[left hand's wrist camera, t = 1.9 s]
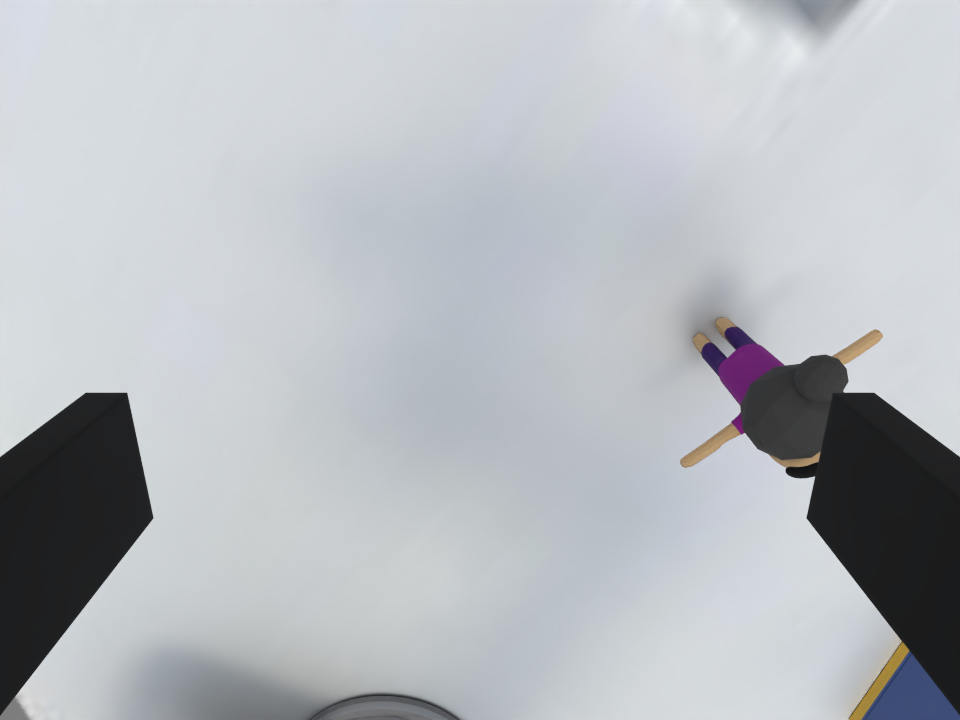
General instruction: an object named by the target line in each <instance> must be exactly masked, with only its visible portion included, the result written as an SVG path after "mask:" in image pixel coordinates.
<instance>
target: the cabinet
mask: <svg viewBox="0 0 960 720" xmlns="http://www.w3.org/2000/svg"><path fill="white" fill-rule="evenodd" d="M849 720H960V715H959V714H958V713H957V711H956V710H955V709H954V707H953V706H952V705H951V704H950V702H949V701H948V700H947V698H946V697H945V696H944V695H943V693H942V692H941V691H940V689H939V688H938V687H937V686H936V684H935V683H934V682H933V680H932V679H931V678H930V677H929V675H928V674H927V673H926V671H925V670H924V669H923V667H922V666H921V665H920V664H919V662H918V661H917V660H916V658H915V657H914V656H913V655H912V653H911V652H910V651H909V649H908V648H907V647H906V646H905V644H904V643H903V642H902V643H901V645H900V646H899V648H898V649H897V650H896V652H895V653H894V655H893V656H892V658H891V659H890V661H889V662H888V663H887V665H886V666H885V668H884V669H883V671H882V672H881V674H880V675H879V677H878V678H877V679H876V681H875V682H874V684H873V685H872V687H871V688H870V690H869V691H868V692H867V694H866V695H865V697H864V698H863V700H862V701H861V703H860V704H859V705H858V707H857V708H856V710H855V711H854V713H853V714H852V716H851V717H850V718H849Z"/></svg>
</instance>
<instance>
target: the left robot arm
mask: <svg viewBox="0 0 960 720" xmlns="http://www.w3.org/2000/svg"><path fill="white" fill-rule="evenodd" d="M152 519H153V514H152V509H151V504H150V500H149V495H148V490H147V485H146V481H145V476H144V471H143V466H142V461H141V457H140V452H139V447H138V442H137V438H136V433H135V428H134V423H133V418H132V414H131V409H130V404H129V399H128V395H127V393H85V394H84V395H82V396H81V397H80V398H78V399H77V400H76V401H74V402H73V403H72V404H70V405H69V406H68V407H66V408H65V409H64V410H62V411H61V412H60V413H58V414H57V415H56V416H54V417H53V418H52V419H50V420H49V421H48V422H46V423H45V424H44V425H42V426H41V427H40V428H38V429H37V430H36V431H34V432H33V433H32V434H30V435H29V436H28V437H26V438H25V439H24V440H22V441H21V442H20V443H18V444H17V445H16V446H14V447H13V448H12V449H10V450H9V451H8V452H6V453H5V454H4V455H2V456H1V457H0V715H1V714H2V713H3V711H4V710H5V709H6V707H7V706H8V705H9V704H10V702H11V701H12V700H13V698H14V697H15V696H16V695H17V693H18V692H19V691H20V689H21V688H22V687H23V686H24V684H25V683H26V682H27V680H28V679H29V678H30V677H31V675H32V674H33V673H34V671H35V670H36V669H37V667H38V666H39V665H40V664H41V662H42V661H43V660H44V658H45V657H46V656H47V655H48V653H49V652H50V651H51V649H52V648H53V647H54V646H55V644H56V643H57V642H58V640H59V639H60V638H61V637H62V635H63V634H64V633H65V631H66V630H67V629H68V628H69V626H70V625H71V624H72V622H73V621H74V620H75V619H76V617H77V616H78V615H79V613H80V612H81V611H82V610H83V608H84V607H85V606H86V604H87V603H88V602H89V601H90V599H91V598H92V597H93V595H94V594H95V593H96V591H97V590H98V589H99V588H100V586H101V585H102V584H103V582H104V581H105V580H106V579H107V577H108V576H109V575H110V573H111V572H112V571H113V570H114V568H115V567H116V566H117V564H118V563H119V562H120V561H121V559H122V558H123V557H124V555H125V554H126V553H127V552H128V550H129V549H130V548H131V546H132V545H133V544H134V543H135V541H136V540H137V539H138V537H139V536H140V535H141V534H142V532H143V531H144V530H145V528H146V527H147V526H148V524H149V523H150V522H151V521H152ZM807 519H808V521H809V522H810V523H811V524H812V526H813V527H814V528H815V530H816V531H817V532H818V534H819V535H820V536H821V537H822V539H823V540H824V541H825V543H826V544H827V545H828V546H829V548H830V549H831V550H832V552H833V553H834V554H835V555H836V557H837V558H838V559H839V561H840V562H841V563H842V564H843V566H844V567H845V568H846V570H847V571H848V572H849V573H850V575H851V576H852V577H853V579H854V580H855V581H856V582H857V584H858V585H859V586H860V588H861V589H862V590H863V591H864V593H865V594H866V595H867V597H868V598H869V599H870V601H871V602H872V603H873V604H874V606H875V607H876V608H877V610H878V611H879V612H880V613H881V615H882V616H883V617H884V619H885V620H886V621H887V622H888V624H889V625H890V626H891V628H892V629H893V630H894V631H895V633H896V634H897V635H898V637H899V638H900V639H901V640H902V642H903V643H904V644H905V646H906V647H907V648H908V649H909V651H910V652H911V653H912V655H913V656H914V657H915V658H916V660H917V661H918V662H919V664H920V665H921V666H922V667H923V669H924V670H925V671H926V673H927V674H928V675H929V677H930V678H931V679H932V680H933V682H934V683H935V684H936V686H937V687H938V688H939V689H940V691H941V692H942V693H943V695H944V696H945V697H946V698H947V700H948V701H949V702H950V704H951V705H952V706H953V707H954V709H955V710H956V711H957V713H958V714H959V715H960V457H959V456H958V455H956V454H955V453H954V452H952V451H951V450H950V449H948V448H947V447H946V446H944V445H943V444H942V443H940V442H939V441H938V440H936V439H935V438H934V437H932V436H931V435H930V434H928V433H927V432H926V431H924V430H923V429H922V428H920V427H919V426H918V425H916V424H915V423H914V422H912V421H911V420H910V419H908V418H907V417H906V416H904V415H903V414H902V413H900V412H899V411H898V410H896V409H895V408H894V407H892V406H891V405H890V404H888V403H887V402H886V401H884V400H883V399H882V398H880V397H879V396H878V395H876V394H875V393H833V395H832V399H831V404H830V409H829V414H828V418H827V423H826V428H825V433H824V438H823V442H822V447H821V452H820V457H819V461H818V466H817V471H816V476H815V481H814V485H813V490H812V495H811V500H810V504H809V509H808V514H807ZM311 720H457V719H456V718H454V717H453V716H451V715H450V714H448V713H446V712H445V711H443V710H441V709H439V708H437V707H435V706H432V705H430V704H427V703H424V702H421V701H417V700H413V699H409V698H403V697H395V696H368V697H361V698H356V699H351V700H347V701H344V702H341V703H338V704H336V705H333V706H331V707H329V708H327V709H325V710H323V711H322V712H320V713H318V714H317V715H316V716H314V717H313V718H312V719H311Z"/></svg>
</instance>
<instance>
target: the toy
mask: <svg viewBox="0 0 960 720" xmlns="http://www.w3.org/2000/svg"><path fill="white" fill-rule="evenodd" d="M716 326H717V328H718V330H719V332H720V333H721V335H722V336H723V337H724V338H725V339H726V340H727V341H728V342H729V343H730V344H731V345H732V346H733V347H734V348H735V349H736V351H735V352H733V353H732V354H731V355H730V356H729V357H728V358H727V357H726V356H725V355H724V354H723V353H722V352H721V351H720V350H719V349H718V348H717V347H716V346H715V345H714V344H713V343H711V341H710V340H709V339H708V338H707V337H706V336H704V335H702V334H701V333H699V334H697V335H696V336H695V337H694V338H693V343H694V345H695V347H696V348H697V350H698V351H699V352H700V353H701V354H702V357H703V358H704V359H705V361H706V362H707V363H708V364H709V365H710V366H711V368H712V369H713V370H714V371H715V372H716V374H717V375H718V376H719V377H720V380H721V382H722V383H723V384H724V386H725V387H726V388H727V389H728V391H729V392H730V393H731V394H732V396H733V397H734V398H735V400H736V401H737V402H738V403H739V405H740V406H741V413H740V414H739V415H738V416H737V417H736V418H735V419H734V420H733V421H732V423H731V424H730V425H728V426H727V427H725V428H724V429H723V430H721V431H720V432H718V433H717V434H716V435H714V436H713V437H712V438H710V439H709V440H708V441H706V442H705V443H703V444H702V445H701V446H699V447H698V448H696V449H695V450H693V451H692V452H690V453H689V454H688V455H686V456H685V457H683V458H682V459H681V460H680V463H681V465H682V466H683V467H690V466H693V465H695V464H696V463H698V462H699V461H701V460H702V459H704V458H705V457H707V456H708V455H710V454H711V453H713V452H715V451H716V450H717V449H719V448H720V447H721V445H722V444H724V443H725V442H727V441H729V440H730V439H732V438H735V437H736V436H738V435H740V434H741V435H742V434H743V433H746V435H747V436H748V437H749V438H750V440H751V441H752V442H753V444H754V445H755V446H756V447H757V449H759V450H761V451H763V452H765V453H767V454H769V455H770V456H771V457H772V458H773V459H774V460H775V461H776V462H777V463H779V464H781V465H782V466H784V467H786V473H787V474H788V475H789V476H791V477H794V478H809V477H814V476H816V471H817V466H818V461H819V457H820V452H821V447H822V442H823V438H824V433H825V428H826V423H827V418H828V414H829V409H830V404H831V399H832V395H833V393H844V392H843V390H844V388H845V386H846V385H847V383H848V376H847V369H846V368H845V366H844V365H843V364H846V363H848V362H850V361H851V360H853V359H854V358H856V357H857V356H859V355H860V354H862V353H863V352H865V351H866V350H868V349H869V348H871V347H872V346H874V345H875V344H877V343H878V342H879V341H880V340H881V338H882V337H883V335H882V333H881V332H880V331H879V330H873V331H871V332H869V333H868V334H866V335H865V336H863V337H862V338H860V339H859V340H857V341H856V342H854V343H853V344H851V345H850V346H848V347H847V348H845V349H843V350H842V351H840V352H838V353H837V354H835V355H833V356H832V357H831V356H828V355H819V356H811V357H809V358H808V359H807V360H805V361H804V362H802V363H801V364H796V365H787V366H785V365H784V364H782V363H781V362H780V361H779V360H778V359H777V358H775V357H774V356H773V355H772V354H771V353H769V352H768V351H767V350H766V349H765V348H763V347H762V346H760V345H758V344H756V343H755V342H754V341H753V340H752V339H751V338H750V337H749V336H748V335H747V334H746V333H745V332H744V331H742V330H741V329H740V328H738V327H736V326H735V325H734V324H733V323H732V322H731V321H730V320H729V319H727V318H720V319H717V321H716Z"/></svg>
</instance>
